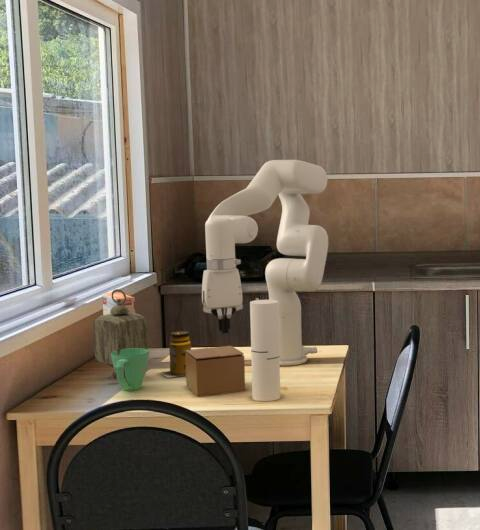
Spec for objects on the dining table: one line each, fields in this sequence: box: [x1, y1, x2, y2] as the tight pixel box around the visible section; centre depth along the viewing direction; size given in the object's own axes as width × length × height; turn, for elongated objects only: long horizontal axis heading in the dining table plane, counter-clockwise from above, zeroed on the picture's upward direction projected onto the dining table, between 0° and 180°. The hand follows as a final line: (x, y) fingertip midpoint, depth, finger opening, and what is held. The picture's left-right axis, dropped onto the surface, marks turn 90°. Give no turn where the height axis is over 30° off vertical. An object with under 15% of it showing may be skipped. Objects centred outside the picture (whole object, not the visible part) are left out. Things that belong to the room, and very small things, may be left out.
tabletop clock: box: [92, 288, 149, 379], centre depth 251 cm, size 14×9×25 cm, turn 50°
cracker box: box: [102, 292, 136, 315], centre depth 269 cm, size 14×6×21 cm, turn 34°
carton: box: [185, 347, 246, 397], centre depth 237 cm, size 13×12×10 cm
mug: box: [111, 348, 150, 392], centre depth 236 cm, size 15×10×10 cm
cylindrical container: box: [249, 299, 281, 402], centre depth 227 cm, size 7×7×25 cm
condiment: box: [159, 330, 192, 379], centre depth 255 cm, size 7×8×12 cm
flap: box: [208, 345, 245, 357], centre depth 238 cm, size 6×12×1 cm, turn 27°
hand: (224, 332), depth 238 cm, fingers closed
